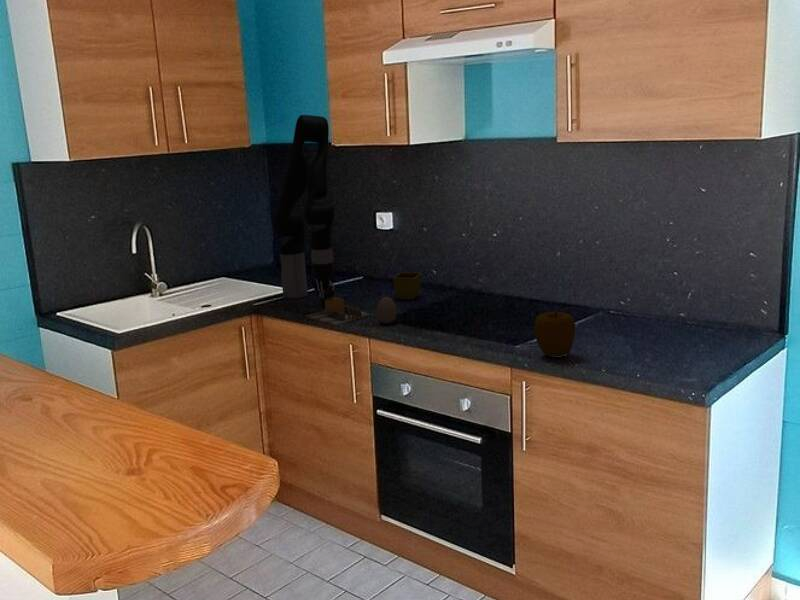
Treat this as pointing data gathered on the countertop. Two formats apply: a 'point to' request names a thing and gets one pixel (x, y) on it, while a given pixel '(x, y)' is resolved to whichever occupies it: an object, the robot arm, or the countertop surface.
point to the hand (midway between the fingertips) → (325, 307)
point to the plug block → (334, 304)
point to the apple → (555, 333)
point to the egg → (386, 310)
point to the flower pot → (407, 285)
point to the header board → (339, 315)
